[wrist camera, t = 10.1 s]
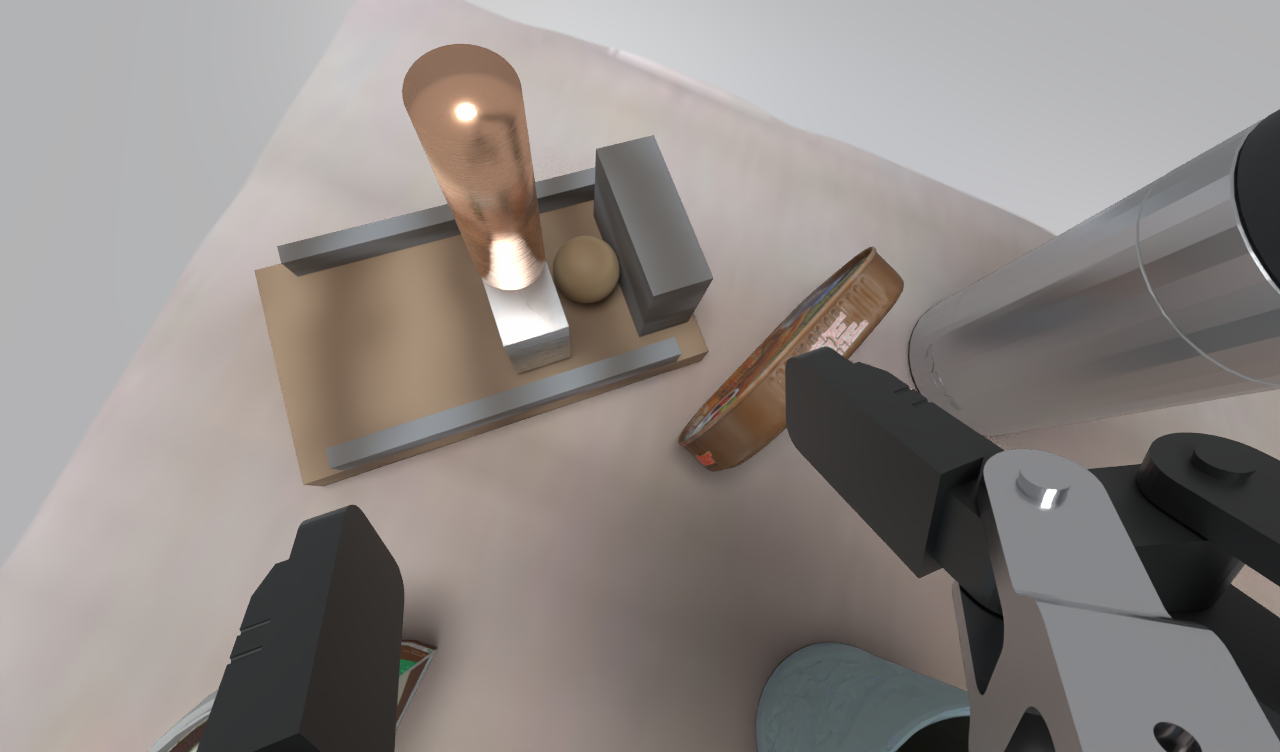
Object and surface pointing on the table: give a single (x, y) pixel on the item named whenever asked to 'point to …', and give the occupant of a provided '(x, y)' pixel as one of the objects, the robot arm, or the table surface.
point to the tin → (756, 390)
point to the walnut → (586, 269)
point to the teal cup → (858, 706)
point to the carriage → (490, 190)
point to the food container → (185, 736)
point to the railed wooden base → (473, 319)
